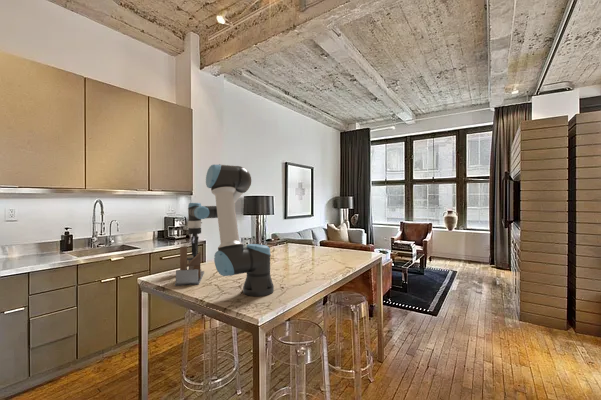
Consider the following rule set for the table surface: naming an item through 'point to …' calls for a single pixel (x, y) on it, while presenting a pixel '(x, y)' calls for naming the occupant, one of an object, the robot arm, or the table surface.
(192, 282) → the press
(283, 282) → the table surface
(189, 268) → the ram
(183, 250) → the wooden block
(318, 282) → the table surface
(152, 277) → the table surface
